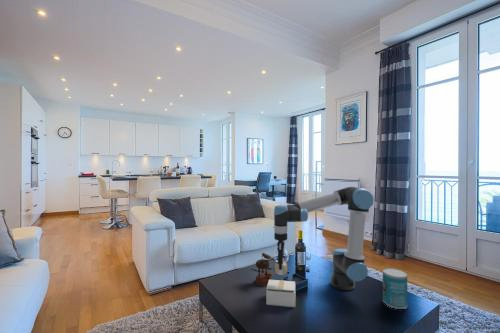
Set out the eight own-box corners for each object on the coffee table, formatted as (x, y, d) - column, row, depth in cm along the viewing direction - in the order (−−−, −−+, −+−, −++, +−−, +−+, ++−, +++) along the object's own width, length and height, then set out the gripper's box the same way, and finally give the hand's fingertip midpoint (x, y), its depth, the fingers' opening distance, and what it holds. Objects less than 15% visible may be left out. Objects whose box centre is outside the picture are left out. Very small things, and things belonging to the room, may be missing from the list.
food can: (378, 302, 146) (378, 270, 146) (391, 296, 151) (391, 266, 151) (398, 312, 135) (398, 278, 135) (412, 306, 141) (412, 274, 141)
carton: (295, 296, 153) (295, 283, 153) (295, 307, 141) (295, 293, 141) (268, 294, 156) (268, 281, 156) (266, 304, 144) (266, 290, 144)
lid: (295, 282, 153) (295, 281, 153) (294, 291, 141) (294, 290, 141) (269, 280, 156) (269, 279, 156) (266, 288, 144) (266, 287, 144)
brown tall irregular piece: (274, 279, 176) (274, 251, 174) (272, 288, 165) (272, 258, 163) (253, 277, 179) (252, 249, 177) (249, 285, 168) (249, 256, 166)
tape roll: (287, 270, 151) (287, 261, 151) (286, 275, 144) (286, 266, 144) (275, 269, 152) (275, 261, 152) (274, 274, 145) (274, 265, 145)
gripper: (275, 228, 159) (276, 264, 159) (272, 236, 139) (272, 278, 139) (288, 228, 157) (288, 265, 157) (286, 237, 138) (286, 280, 138)
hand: (281, 271), depth 148 cm, fingers closed on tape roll, 7 cm apart
